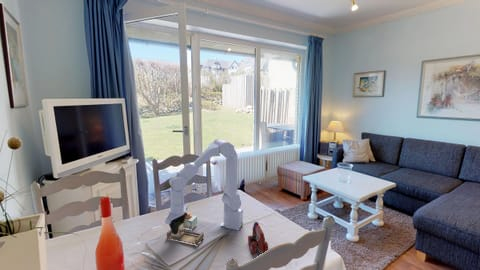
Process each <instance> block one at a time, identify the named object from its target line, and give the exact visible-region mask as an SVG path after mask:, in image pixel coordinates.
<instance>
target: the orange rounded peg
mask: <svg viewBox="0 0 480 270" xmlns="http://www.w3.org/2000/svg"><path fill="white" fill-rule="evenodd" d="M186 213H187V216H186V218H185V219H190V216H191V215H192V214H191V212H189V211H188V212H187V211H186Z"/></svg>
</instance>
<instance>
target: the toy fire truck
mask: <svg viewBox="0 0 480 270" xmlns="http://www.w3.org/2000/svg"><path fill="white" fill-rule="evenodd" d="M247 244H248V246H249V247H250V253H251V254H256V251H257V252H258V253H266V252H265V251H267V250H268V251H269V244H268V242H267V241H266V238H265V234H264V232H263V230H262V228H261V226H260V224H259V222H258V221H255V222H253V226H252V234H251V235H248V236H247Z"/></svg>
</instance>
